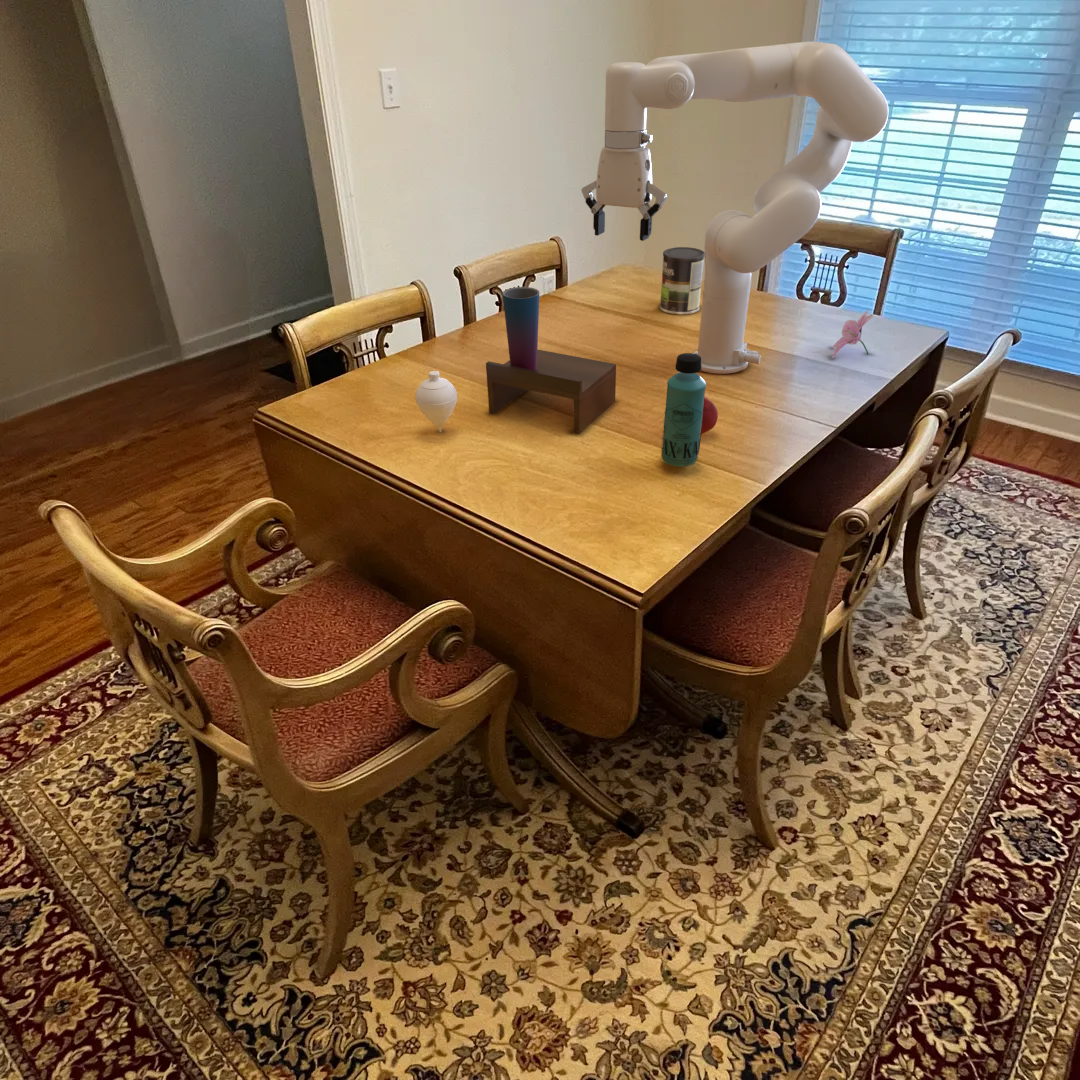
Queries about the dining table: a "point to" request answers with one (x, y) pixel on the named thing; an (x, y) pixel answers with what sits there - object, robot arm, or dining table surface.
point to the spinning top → (436, 399)
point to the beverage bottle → (683, 412)
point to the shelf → (556, 384)
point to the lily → (852, 333)
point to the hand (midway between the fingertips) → (621, 236)
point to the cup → (522, 325)
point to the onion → (708, 416)
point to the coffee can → (681, 280)
